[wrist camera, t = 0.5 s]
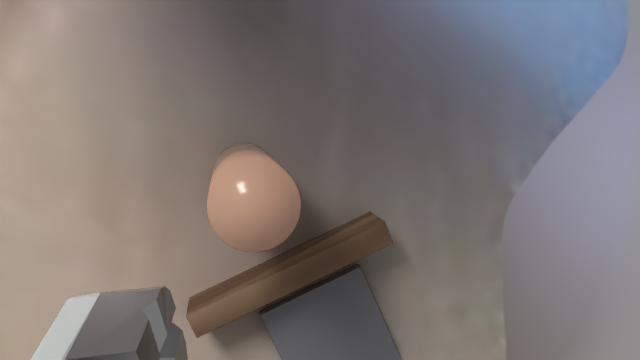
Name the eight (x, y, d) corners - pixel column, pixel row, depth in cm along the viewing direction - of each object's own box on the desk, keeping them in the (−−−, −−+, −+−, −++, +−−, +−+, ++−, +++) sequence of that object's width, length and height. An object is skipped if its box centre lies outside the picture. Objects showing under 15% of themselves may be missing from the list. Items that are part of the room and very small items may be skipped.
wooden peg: (201, 159, 52) (190, 183, 34) (259, 133, 52) (277, 143, 35) (228, 215, 53) (231, 267, 35) (285, 189, 53) (315, 227, 36)
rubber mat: (259, 311, 54) (260, 315, 53) (357, 264, 55) (360, 266, 54) (304, 403, 56) (305, 408, 55) (398, 355, 57) (401, 360, 56)
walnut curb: (189, 297, 53) (186, 316, 48) (370, 211, 55) (384, 221, 50) (199, 317, 53) (196, 337, 48) (378, 231, 55) (393, 242, 50)
